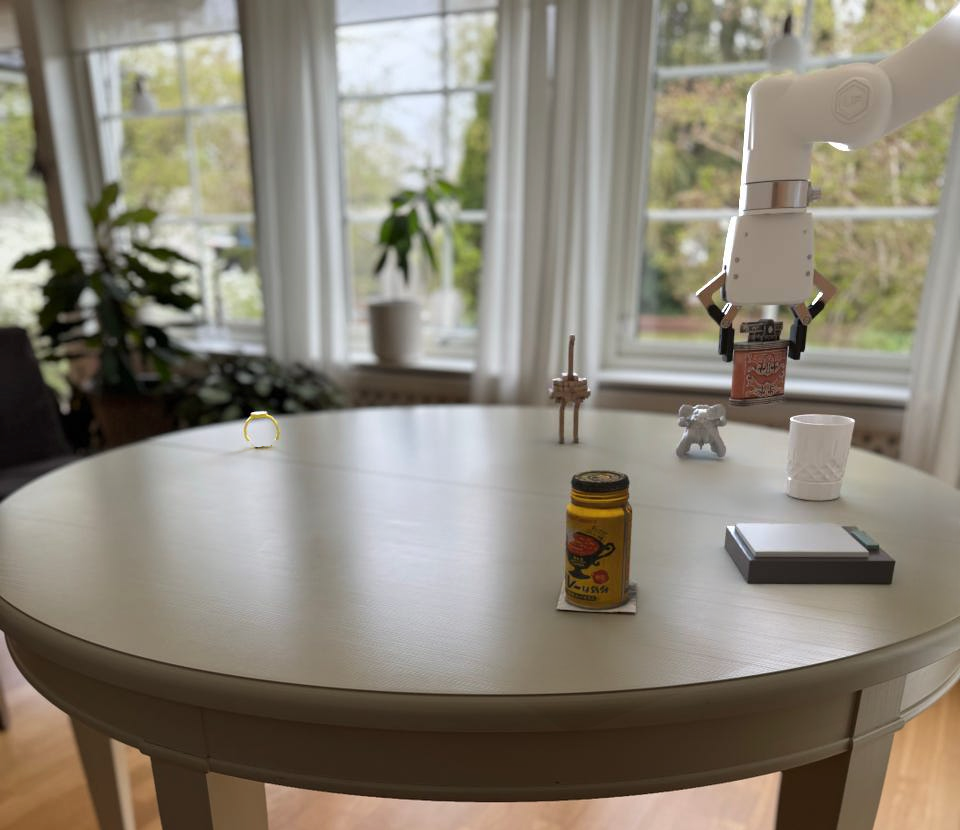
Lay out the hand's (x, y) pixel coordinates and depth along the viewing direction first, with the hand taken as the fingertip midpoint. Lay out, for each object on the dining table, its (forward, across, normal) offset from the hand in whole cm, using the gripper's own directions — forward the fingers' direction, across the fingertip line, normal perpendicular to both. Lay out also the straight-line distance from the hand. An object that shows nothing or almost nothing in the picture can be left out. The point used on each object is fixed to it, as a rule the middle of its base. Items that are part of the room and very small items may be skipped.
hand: (760, 359), depth 109 cm
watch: (+16, +76, -37) cm, 86 cm away
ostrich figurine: (+17, +23, -45) cm, 54 cm away
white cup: (+18, -9, -3) cm, 21 cm away
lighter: (+6, 0, 0) cm, 6 cm away
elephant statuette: (+18, +2, -30) cm, 35 cm away
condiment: (+18, +22, +36) cm, 46 cm away
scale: (+18, 0, +26) cm, 31 cm away
